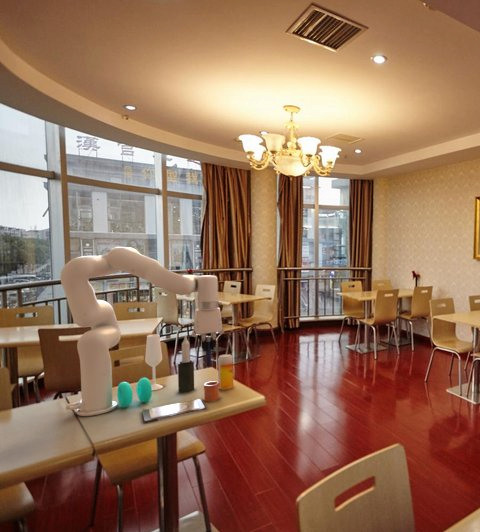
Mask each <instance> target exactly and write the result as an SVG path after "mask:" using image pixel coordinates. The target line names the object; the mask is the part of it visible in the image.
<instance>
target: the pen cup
mask: <svg viewBox="0 0 480 532" xmlns="http://www.w3.org/2000/svg"><path fill="white" fill-rule="evenodd" d="M219 398H220V389H219V382H218V380H217V381H216V380H215V381H214V380H213V381H207V382H205V383H204V384H203V400H204V402H214V401H217V400H219Z"/></svg>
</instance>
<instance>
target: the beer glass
mask: <svg viewBox="0 0 480 532" xmlns="http://www.w3.org/2000/svg"><path fill="white" fill-rule="evenodd" d="M217 368H218V369H217V371H218V373H217V374H218V377H217V378H218V380H217V382H219V390H222V391H225V390H226V391H227V390H230V389H233V387H234V357H233V355H232V354H231V353H230V354H229V353H225V354H221V355H219V356H218V358H217Z"/></svg>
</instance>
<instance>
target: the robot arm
mask: <svg viewBox="0 0 480 532" xmlns="http://www.w3.org/2000/svg"><path fill="white" fill-rule="evenodd" d="M120 272H124V273H128V274H130V275H132V276H135V277H138V278H140V279H143V280H145V281H147V282H148V283H150V284H152V285H153V286H156V287H158V288H159V289H162V290H164V291H167V292H170V293H173V294H174V295H179V296H186V295H189V294H192V293H196V295H197V296H196V299H197V308H195V310H194V315H193V330H192V331H191V334H190V335H191V337H193V338H197V339H198V340H200V341H201V349H202V351H204V352H206V341H205V337H206V334H210V336H211V351H214V349H215V348H216V340H217V338H219V336H220V335H223V334H224V333H225V329H224V327H223V321H222V313H221V308H220V307H219V306H222V304H223V303H222V301H219V290H218V289H219V285H218V284H219V283H218V282H219V281H218V276H216V275H214V274H213V275H212V274H211V275H210V274H209V275H195V274H185V275H181V274H179V273H176V272H174V271H171V270H169V269H167V268H165V267H164V266H163V265H161V263H160V262H159V261H158V260H156V259H154V258H151V257H149V256H147V255H144V254H141V253H140V251H138V250H137V249H136V248H133V247H131V246H116V247H113V248H111V249H110V250H109V251H108V253H104V254H100V255H82V256H78V257H74V258H71V260H69V261H68V262H66V263H65V265H64V266H63V267H62V269H61V270H60V276H59V277H60V278H59V279H60V283H61V286H62V289H63V292H64V294H65V297H66V301H67V304H68V307H69V311H70V313H71V317H72V319H73V322H74V323H75V325H76V326H78V327H80V328H89V327H90V329H89V330H88V331H86V332H84V333H83V334H82V335H80V337H79V339H78V340H77V344H76V348H77V353H78V358H79V365H80V394H81V395H80V396H81V398H80V400H79V401H77V402H74V403H73V402H72V403H67V404H66V405H65V407H66V408H65V409H66V410H69V411H74V410H76V415H77V416H80V417H92V416H98V415H103V414H105V413H108V412H111V411H114V410H115V409H116V408H117V407H118V402H117V401H114V400H113V367H112V366H113V364H112V356H111V354H110V350H109V349H112V348H113V347H115V346H117V345H118V344H119V343H120V340H121V337H122V334H121V329H120V325H119V322H118V319H117V316H116V313H115V309H114V307H113V306H112V305H111V304H110V303H109V302H108V301H106V300H104V299H103V300H102V299H98V298H97V296H96V291H95V289H94V287H93V285H92V284H91V283H90V279H93V278H100V277H106V276H110V275H113V274H116V273H120Z"/></svg>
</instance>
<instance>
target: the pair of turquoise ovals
mask: <svg viewBox="0 0 480 532" xmlns="http://www.w3.org/2000/svg"><path fill="white" fill-rule="evenodd" d="M151 385H152V384H151V381H150V379H149V378H148V377H141V378H140V379H139V380H138V381H137V384H136V395H137V398H138V400H139V402H142V403H148V402H149V401H150V400H151V399H152V397H153V395H152V394H153V390H152V387H151ZM116 389H117V390H116V394H117V395H116V396H117V401H118V402H117V403H118V404H119V406H120V407H121V408H125V409H126V408H128V407H129V406H130V405H132V402H133V396H134V395H133V394H134V393H133V388H132V386H131V384H130V383H129V382H127V381H122V382H120V383H119V384H118V386H117V388H116Z"/></svg>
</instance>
